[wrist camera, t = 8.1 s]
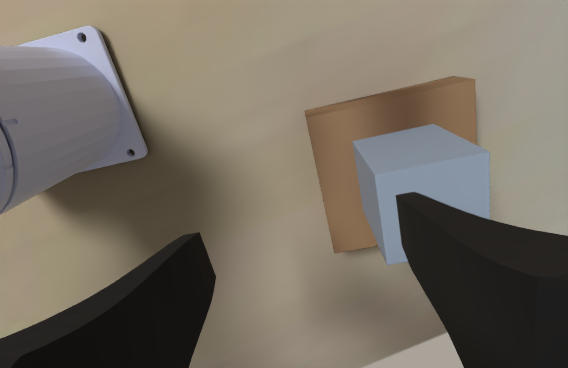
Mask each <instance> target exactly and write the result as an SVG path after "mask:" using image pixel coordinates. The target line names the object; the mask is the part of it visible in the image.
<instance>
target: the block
mask: <svg viewBox="0 0 568 368" xmlns="http://www.w3.org/2000/svg"><path fill="white" fill-rule="evenodd" d="M352 143H353V150H354V156H355V162H356V168H357V175H358V181H359V187H360V194H361V200H362V206H363V212H364V214H365V216H366V218H367V221H368V223H369V225H370V228H371V230H372V232H373V234H374V237H375V239H376V241H377V243H378V246H379V248H380V250H381V253H382V255H383V257H384V259H385V262H386V264H387V265H391V264H397V263H403V262H408V260H407V257H406V255H405V252H404V250H403V247H402V244H401V235H400V227H399V219H398V211H397V203H396V195H399V194H404V193H409V192H417V193H420V194H422V195H425V196H427V197H430V198H432V199H435V200H437V201H439V202H442V203H444V204H447V205H449V206H452V207H454V208H457V209H460V210H462V211H465V212H468V213H471V214H474V215H477V216H480V217H483V218H486V219H489V220H490V152H489V151H487V150H485V149H483V148H481V147H479V146H477V145H475V144H473V143H471V142H469V141H467V140H465V139H463V138H461V137H459V136H457V135H455V134H453V133H451V132H449V131H447V130H445V129H443V128H441V127H439V126H437V125H435V124H430V125H426V126H421V127H416V128H412V129H407V130H402V131H398V132H393V133H388V134H384V135H379V136H375V137H370V138H365V139H361V140H356V141H352Z"/></svg>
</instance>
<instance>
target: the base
mask: <svg viewBox="0 0 568 368" xmlns="http://www.w3.org/2000/svg"><path fill="white" fill-rule="evenodd" d="M305 115H306V120H307V125H308V130H309V135H310V139H311V144H312V149H313V154H314V158H315V163H316V168H317V173H318V177H319V182H320V187H321V192H322V196H323V201H324V206H325V211H326V215H327V220H328V225H329V230H330V234H331V239H332V244H333V249H334V253H340V252H345V251H351V250H356V249H362V248H367V247H373V246H378V243H377V241H376V239H375V237H374V234H373V232H372V230H371V228H370V225H369V223H368V221H367V218H366V216H365V214H364V212H363V206H362V200H361V194H360V187H359V181H358V175H357V168H356V162H355V156H354V150H353V143H352V141H356V140H361V139H365V138H370V137H375V136H379V135H384V134H388V133H393V132H398V131H402V130H407V129H412V128H416V127H421V126H426V125H430V124H435V125H437V126H439V127H441V128H443V129H445V130H447V131H449V132H451V133H453V134H455V135H457V136H459V137H461V138H463V139H465V140H467V141H469V142H471V143H473V144H475V145H477V141H476V91H475V79H470V78H462V77H455V76H452V77H448V78H444V79H439V80H435V81H431V82H427V83H422V84H418V85H414V86H409V87H405V88H401V89H397V90H392V91H388V92H384V93H379V94H375V95H371V96H367V97H362V98H358V99H354V100H349V101H345V102H341V103H336V104H332V105H328V106H324V107H319V108H315V109H311V110H306V111H305Z"/></svg>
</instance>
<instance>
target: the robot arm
mask: <svg viewBox="0 0 568 368" xmlns="http://www.w3.org/2000/svg"><path fill="white" fill-rule="evenodd" d="M83 33H84V34H85V36H86V41H85V42H84V41H83V40H82V38H81V36H82V34H83ZM130 149H132V150H133V151H134V152H135V155H132V154H131V153H130V151H129V150H130ZM147 153H148V149H147V146H146V144H145V141H144V139H143V136H142V134H141V131H140V129H139V126H138V124H137V121H136V119H135V117H134V114H133V112H132V109H131V107H130V104H129V102H128V99H127V97H126V94H125V92H124V89H123V87H122V84H121V82H120V79H119V77H118V74H117V72H116V69H115V67H114V64H113V62H112V59H111V57H110V54H109V52H108V49H107V47H106V44H105V42H104V39H103V37H102V34H101V32H100V31H99V30H98V29H97V28H96V27H94V26H84V27H81V28H77V29H74V30H70V31H67V32H63V33H60V34H56V35H53V36H49V37H46V38H42V39H38V40H35V41H31V42H28V43H24V44H21V45H17V46H0V215H1V214H3V213H5V212H6V211H8V210H10V209H12V208H14V207H15V206H17V205H19V204H21V203H23V202H25V201H26V200H28V199H30V198H32V197H34V196H36V195H37V194H39V193H41V192H43V191H45V190H47V189H48V188H50V187H52V186H54V185H56V184H57V183H59V182H61V181H63V180H65V179H67V178H68V177H70V176H72V175H74V174H76V173H80V172H84V171H88V170H93V169H97V168H101V167H106V166H110V165H114V164H119V163H123V162H128V161H132V160H136V159H141V158H143V157H145V156H146V155H147ZM396 203H397V211H398V219H399V227H400V235H401V244H402V247H403V250H404V252H405V255H406V257H407V260H408V262H409V265H410V267H411V269H412V271H413V273H414V274H415V276H416V278H417V280H418V281H419V283H420V285H421V287H422V288H423V290H424V292H425V293H426V295H427V297H428V298H429V300H430V302H431V304H432V305H433V307H434V309H435V310H436V312H437V314H438V315H439V317H440V319H441V321H442V322H443V324H444V326H445V328H446V330H447V332H448V334H449V335H450V338H451V340H452V342H453V344H454V346H455V349H456V351H457V353H458V355H459V357H460V360H461V362H462V364H463V366H464V368H568V236H565V235H559V234H553V233H547V232H541V231H535V230H530V229H525V228H521V227H516V226H512V225H508V224H504V223H500V222H496V221H493V220H489V219H486V218H483V217H480V216H477V215H474V214H471V213H468V212H465V211H462V210H460V209H457V208H454V207H452V206H449V205H447V204H444V203H442V202H439V201H437V200H435V199H432V198H430V197H427V196H425V195H422V194H420V193H417V192H409V193H404V194H399V195H396ZM215 280H216V275H215V273H214V270H213V267H212V265H211V262H210V259H209V257H208V254H207V251H206V249H205V246H204V243H203V241H202V238H201V235H200V233H199V232H198V233H193V234H187V235H183V236H181V237H180V238H178V239H176V240H175V241H173V242H172V243H170V244H169V245H167V246H166V247H164V248H163V249H162V250H160V251H159V252H157V253H156V254H155V255H153V256H152V257H150V258H149V259H148V260H146V261H145V262H143V263H142V264H141V265H139V266H138V267H136V268H135V269H133V270H132V271H130V272H129V273H127V274H126V275H125V276H123V277H122V278H120V279H119V280H117V281H116V282H114V283H112V284H111V285H109V286H108V287H106V288H104V289H103V290H101V291H99V292H98V293H96V294H94V295H92V296H91V297H89V298H87V299H85V300H84V301H82V302H80V303H78V304H76V305H74V306H72V307H70V308H68V309H66V310H64V311H62V312H60V313H58V314H56V315H54V316H52V317H50V318H48V319H46V320H44V321H41V322H39V323H37V324H35V325H32V326H30V327H28V328H26V329H23V330H21V331H18V332H16V333H14V334H11V335H9V336H6V337H4V338H1V339H0V368H189V365H190V362H191V358H192V355H193V352H194V350H195V347H196V344H197V341H198V338H199V336H200V333H201V330H202V327H203V324H204V322H205V319H206V316H207V313H208V310H209V307H210V304H211V301H212V296H213V292H214V286H215Z"/></svg>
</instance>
